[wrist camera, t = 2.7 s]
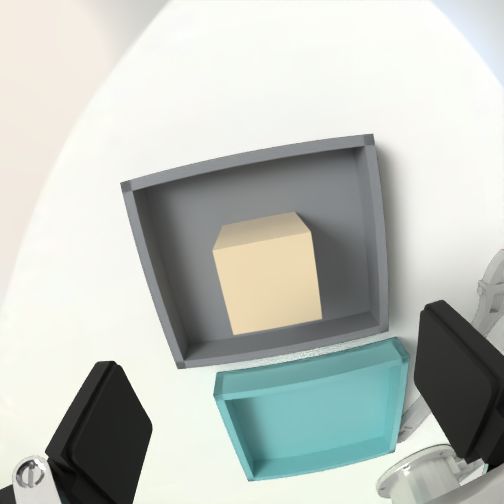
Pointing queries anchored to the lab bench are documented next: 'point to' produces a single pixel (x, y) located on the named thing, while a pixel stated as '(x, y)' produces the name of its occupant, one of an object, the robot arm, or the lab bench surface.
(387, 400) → the teal bin
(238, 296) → the sandstone block
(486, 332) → the adjustable wrench
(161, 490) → the lab bench surface
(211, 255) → the charcoal bin
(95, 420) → the robot arm
